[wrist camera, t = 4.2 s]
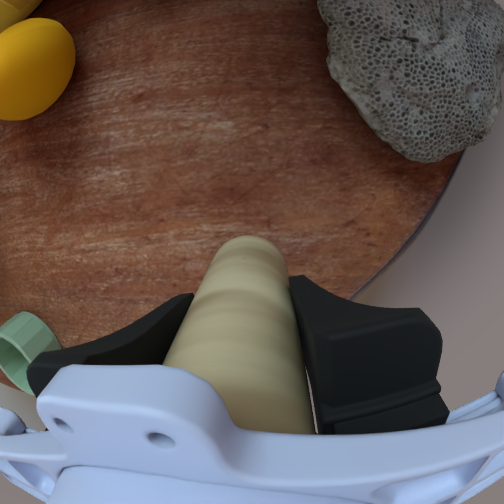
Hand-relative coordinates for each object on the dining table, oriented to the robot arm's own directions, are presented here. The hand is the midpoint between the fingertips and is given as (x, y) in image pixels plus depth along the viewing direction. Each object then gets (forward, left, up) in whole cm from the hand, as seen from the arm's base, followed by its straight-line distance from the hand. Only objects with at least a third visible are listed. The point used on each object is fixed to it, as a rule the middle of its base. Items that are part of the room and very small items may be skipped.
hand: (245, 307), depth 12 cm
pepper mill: (0, 0, -4) cm, 4 cm away
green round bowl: (-6, +24, -8) cm, 26 cm away
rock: (+13, -14, -8) cm, 20 cm away
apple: (+17, +13, -8) cm, 23 cm away
